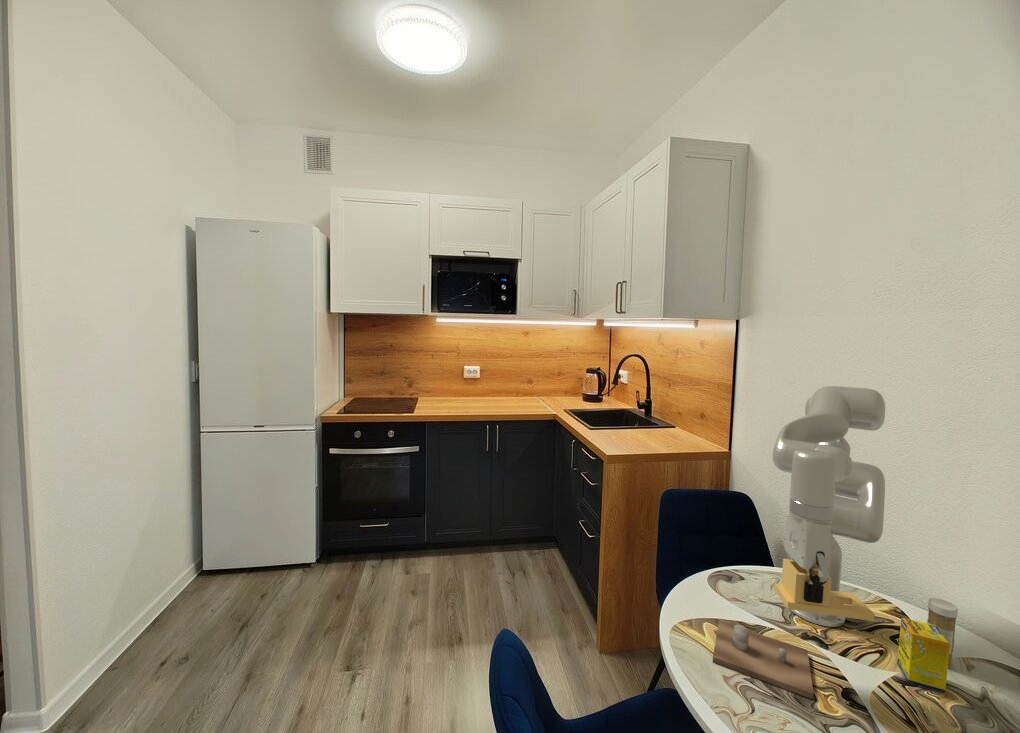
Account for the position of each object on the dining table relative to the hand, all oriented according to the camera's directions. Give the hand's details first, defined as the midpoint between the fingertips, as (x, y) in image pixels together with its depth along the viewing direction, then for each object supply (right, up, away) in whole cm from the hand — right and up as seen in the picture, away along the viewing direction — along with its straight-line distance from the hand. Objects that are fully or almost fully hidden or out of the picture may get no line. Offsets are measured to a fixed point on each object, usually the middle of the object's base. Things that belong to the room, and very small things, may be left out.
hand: (804, 590), depth 90 cm
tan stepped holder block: (+3, -3, -1) cm, 4 cm away
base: (-7, -17, +4) cm, 19 cm away
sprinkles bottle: (+33, -18, +5) cm, 38 cm away
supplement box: (+24, -19, 0) cm, 30 cm away
